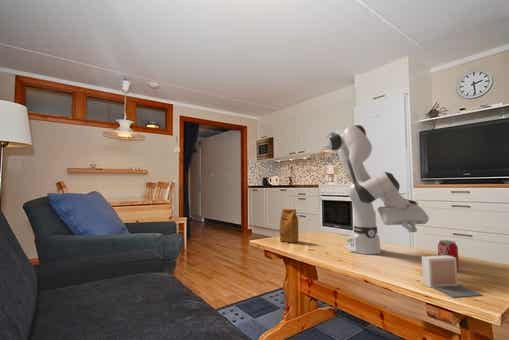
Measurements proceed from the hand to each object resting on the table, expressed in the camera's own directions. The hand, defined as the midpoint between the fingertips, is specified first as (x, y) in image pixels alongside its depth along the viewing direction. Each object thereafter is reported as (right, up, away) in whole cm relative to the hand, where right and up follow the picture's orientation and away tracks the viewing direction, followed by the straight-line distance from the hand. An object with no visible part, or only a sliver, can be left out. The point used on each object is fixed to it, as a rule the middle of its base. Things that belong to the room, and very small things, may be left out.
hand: (413, 231), depth 110 cm
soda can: (+18, -18, +4) cm, 25 cm away
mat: (+3, -16, -20) cm, 26 cm away
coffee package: (-44, -23, +65) cm, 82 cm away
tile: (+2, -17, -13) cm, 21 cm away
